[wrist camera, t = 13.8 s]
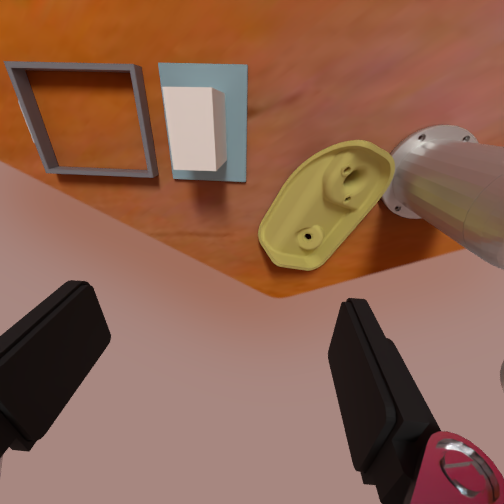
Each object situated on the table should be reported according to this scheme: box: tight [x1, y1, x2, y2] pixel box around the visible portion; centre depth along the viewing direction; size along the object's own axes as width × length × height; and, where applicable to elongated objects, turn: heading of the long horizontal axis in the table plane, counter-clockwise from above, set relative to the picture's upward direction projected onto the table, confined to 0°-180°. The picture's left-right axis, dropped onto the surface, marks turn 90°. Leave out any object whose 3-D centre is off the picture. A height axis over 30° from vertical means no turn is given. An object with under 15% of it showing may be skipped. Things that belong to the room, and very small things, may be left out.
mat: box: [158, 63, 248, 182], centre depth 33 cm, size 11×14×1 cm
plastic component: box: [258, 140, 395, 271], centre depth 36 cm, size 20×7×10 cm
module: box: [162, 87, 227, 171], centre depth 30 cm, size 5×8×8 cm, turn 179°
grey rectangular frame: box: [4, 61, 159, 178], centre depth 33 cm, size 17×13×2 cm
